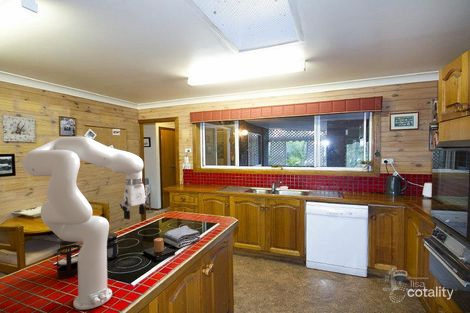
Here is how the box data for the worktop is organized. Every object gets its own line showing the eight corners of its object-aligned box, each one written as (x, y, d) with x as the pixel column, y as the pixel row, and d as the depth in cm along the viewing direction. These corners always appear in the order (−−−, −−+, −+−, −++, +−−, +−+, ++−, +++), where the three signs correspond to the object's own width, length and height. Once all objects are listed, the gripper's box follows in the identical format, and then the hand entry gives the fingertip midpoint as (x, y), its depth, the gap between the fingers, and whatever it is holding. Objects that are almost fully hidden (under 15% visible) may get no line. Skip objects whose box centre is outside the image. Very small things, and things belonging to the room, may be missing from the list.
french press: (54, 281, 104) (53, 229, 104) (55, 273, 112) (54, 224, 112) (85, 274, 111) (84, 224, 111) (84, 266, 119) (84, 220, 119)
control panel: (174, 255, 130) (174, 250, 130) (156, 262, 122) (156, 256, 122) (161, 248, 140) (161, 244, 140) (143, 254, 132) (143, 249, 132)
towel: (163, 243, 147) (162, 231, 147) (186, 235, 162) (186, 224, 162) (178, 249, 138) (178, 236, 138) (201, 240, 152) (201, 228, 152)
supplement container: (116, 252, 135) (116, 231, 135) (119, 258, 127) (119, 236, 127) (95, 257, 130) (94, 235, 130) (97, 264, 121) (96, 240, 121)
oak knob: (160, 247, 134) (160, 236, 134) (165, 250, 131) (165, 238, 131) (152, 250, 131) (152, 239, 131) (157, 252, 127) (156, 241, 127)
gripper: (126, 184, 110) (126, 221, 110) (152, 180, 126) (152, 213, 126) (113, 184, 113) (114, 220, 113) (141, 180, 129) (141, 212, 129)
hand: (134, 216), depth 119 cm, fingers open, 9 cm apart
